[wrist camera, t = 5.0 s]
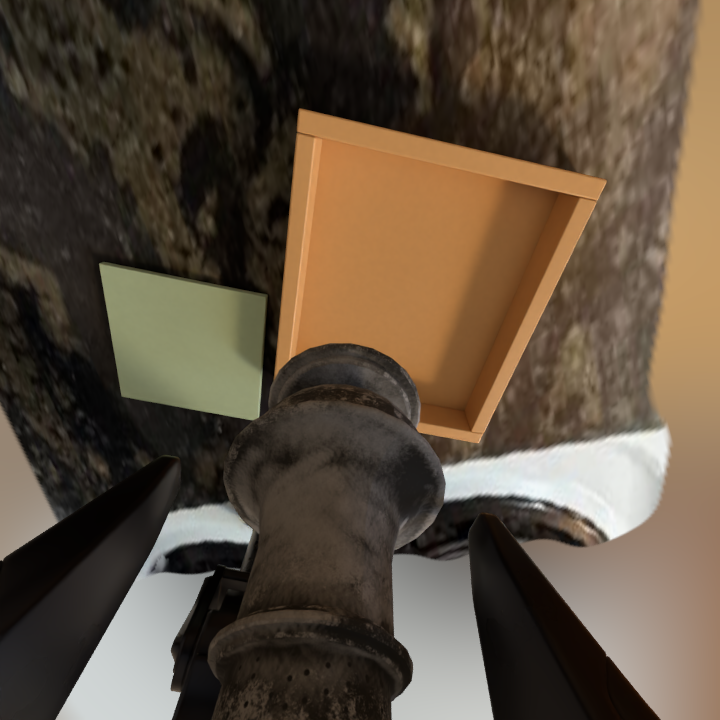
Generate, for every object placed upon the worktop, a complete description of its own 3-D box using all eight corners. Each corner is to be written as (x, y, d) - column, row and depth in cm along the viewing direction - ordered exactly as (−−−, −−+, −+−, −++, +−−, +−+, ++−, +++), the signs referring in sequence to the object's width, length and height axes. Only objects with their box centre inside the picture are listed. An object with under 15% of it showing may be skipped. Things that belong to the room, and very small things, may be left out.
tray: (470, 418, 24) (478, 444, 22) (280, 382, 23) (271, 405, 21) (580, 175, 17) (608, 179, 15) (308, 112, 16) (298, 107, 14)
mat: (259, 417, 25) (257, 421, 25) (125, 393, 24) (121, 396, 24) (268, 294, 20) (266, 297, 20) (103, 261, 20) (98, 263, 19)
